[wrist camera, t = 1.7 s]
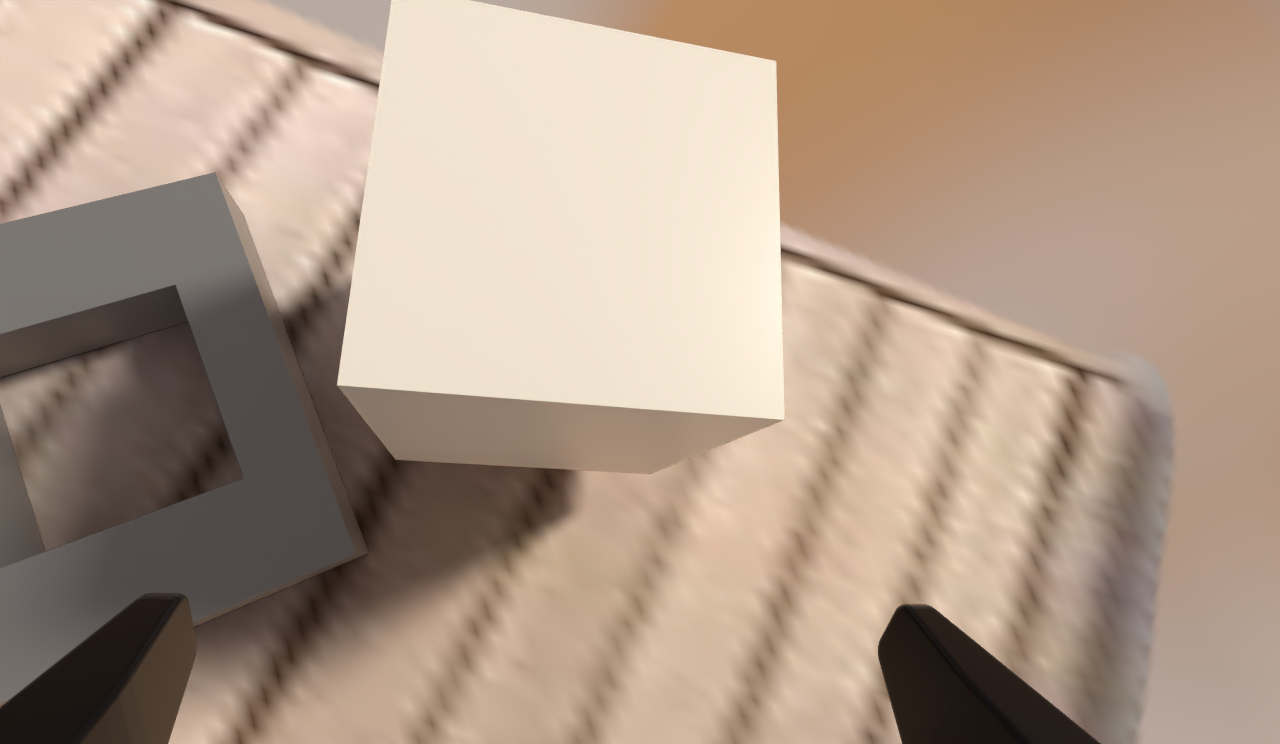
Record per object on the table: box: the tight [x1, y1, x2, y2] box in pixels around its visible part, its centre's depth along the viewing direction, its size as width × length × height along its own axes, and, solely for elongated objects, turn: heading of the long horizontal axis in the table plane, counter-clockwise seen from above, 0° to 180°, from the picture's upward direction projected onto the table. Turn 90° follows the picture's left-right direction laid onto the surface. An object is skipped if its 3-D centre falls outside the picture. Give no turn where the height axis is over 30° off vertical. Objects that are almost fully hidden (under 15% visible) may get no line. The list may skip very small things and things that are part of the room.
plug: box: [337, 0, 784, 474], centre depth 17 cm, size 7×7×11 cm
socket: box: [0, 172, 369, 706], centre depth 18 cm, size 11×9×2 cm
